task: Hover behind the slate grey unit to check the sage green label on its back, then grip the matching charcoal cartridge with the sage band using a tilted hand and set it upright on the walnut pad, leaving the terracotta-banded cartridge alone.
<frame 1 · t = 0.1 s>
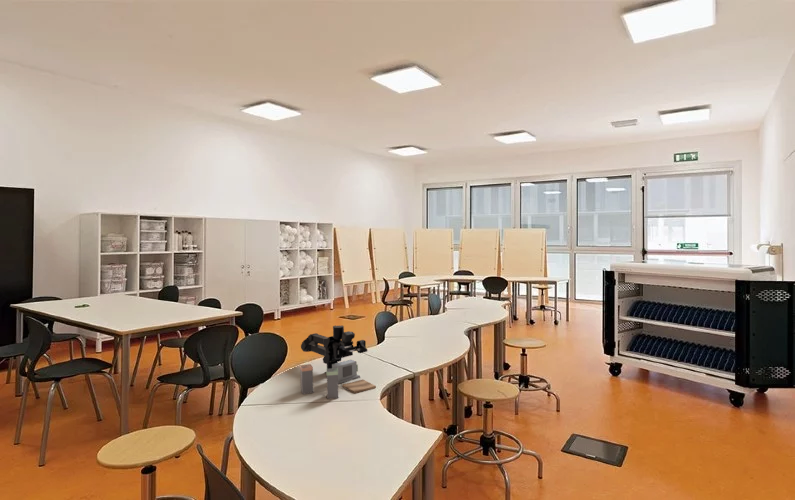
hand: (359, 352, 220), 16 cm above the table, tool horizontal, fingers open, 9 cm apart
walnut pad: (359, 387, 217), on the table
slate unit: (344, 378, 230), on the table
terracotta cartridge: (307, 391, 213), on the table
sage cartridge: (332, 396, 206), on the table
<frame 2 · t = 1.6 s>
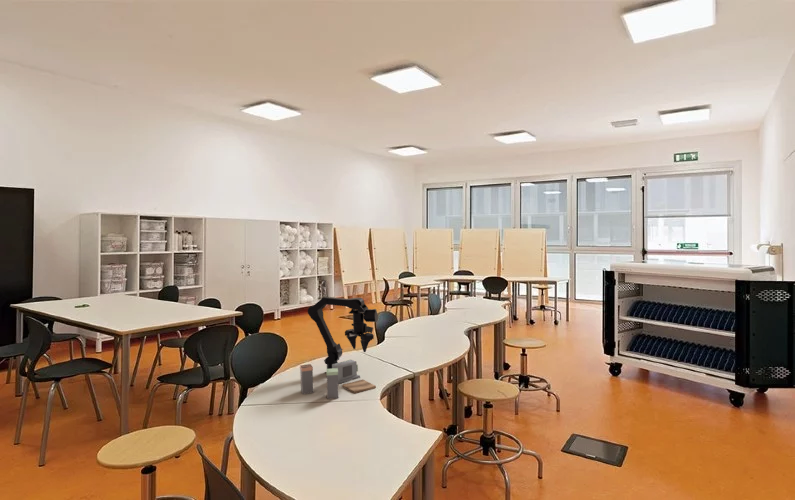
hand: (359, 350, 236), 13 cm above the table, tool pointing down, fingers open, 9 cm apart
nothing on the table moved.
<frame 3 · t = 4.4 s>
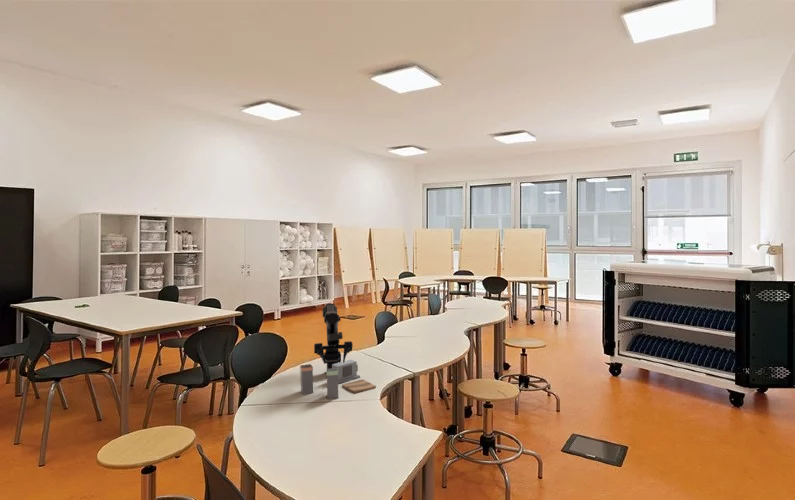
hand: (334, 363, 214), 13 cm above the table, tool tilted 45°, fingers open, 9 cm apart
nothing on the table moved.
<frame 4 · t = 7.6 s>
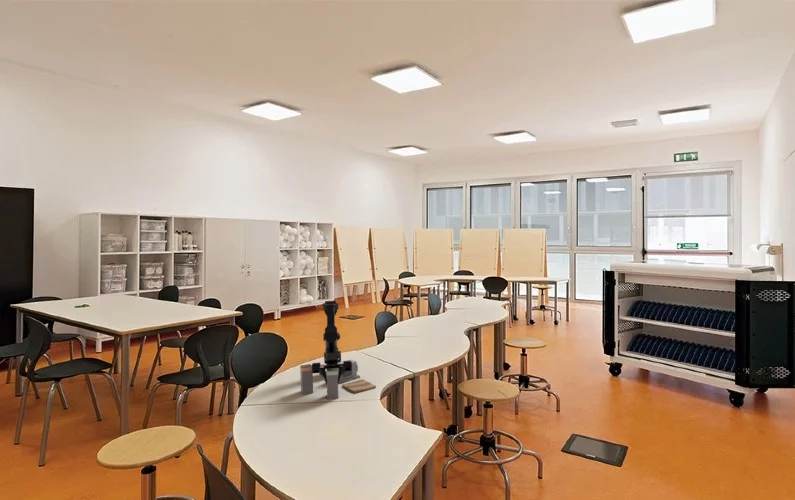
hand: (332, 383, 204), 7 cm above the table, tool tilted 45°, fingers closed on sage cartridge, 5 cm apart
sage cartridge: (332, 396, 206), on the table, touching gripper
everything else where it was.
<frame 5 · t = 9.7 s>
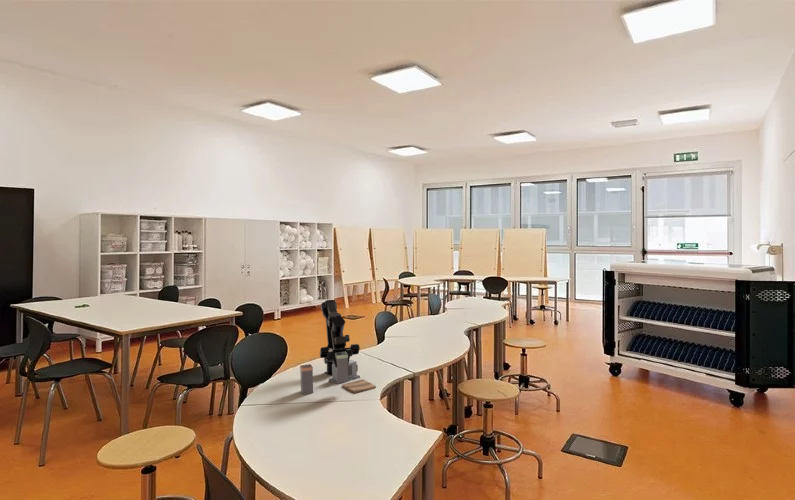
hand: (342, 366, 207), 13 cm above the table, tool tilted 45°, fingers closed on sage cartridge, 5 cm apart
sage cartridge: (341, 379, 209), point 7 cm above the table, touching gripper
everything else where it was.
when the fingers open (9 cm above the table, at t = 12.1 s): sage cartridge drops 1 cm, resting on walnut pad.
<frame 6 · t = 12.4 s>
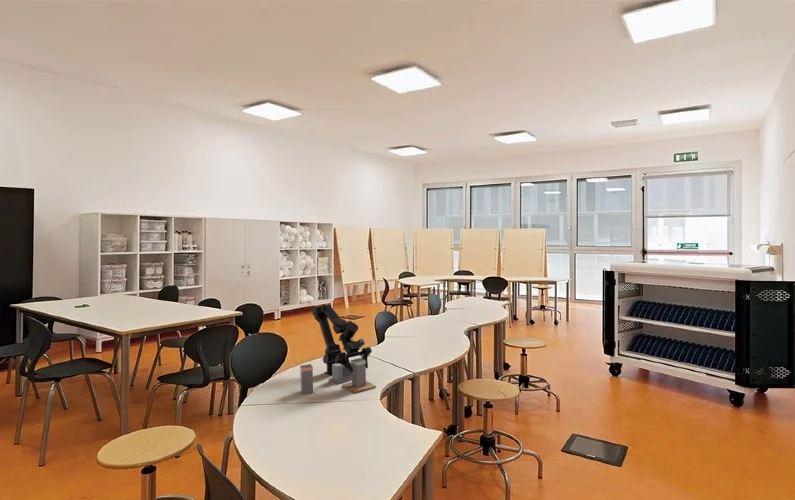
hand: (360, 369, 216), 9 cm above the table, tool tilted 45°, fingers open, 8 cm apart
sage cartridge: (358, 385, 217), point 1 cm above the table, touching walnut pad
everything else where it was.
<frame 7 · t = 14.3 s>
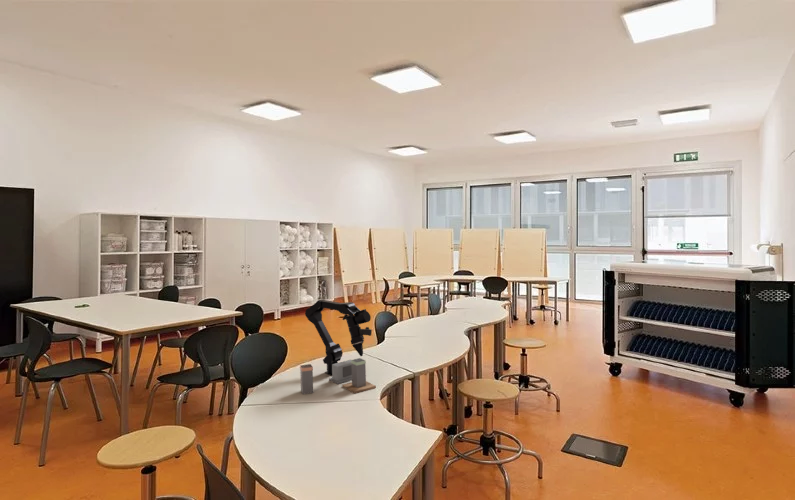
hand: (362, 355, 229), 12 cm above the table, tool tilted 20°, fingers open, 9 cm apart
nothing on the table moved.
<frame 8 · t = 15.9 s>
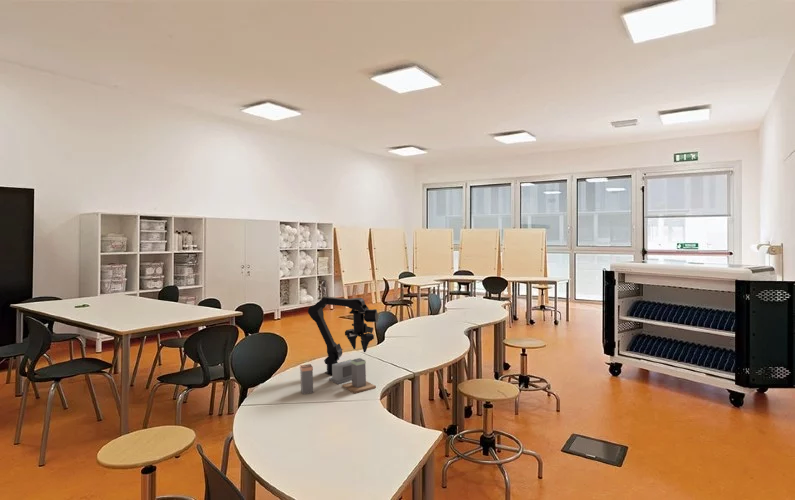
hand: (359, 350, 236), 13 cm above the table, tool pointing down, fingers open, 9 cm apart
nothing on the table moved.
at the end: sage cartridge inside the target area on the walnut pad (0.0 cm from its centre), point 1.0 cm above the walnut pad's base; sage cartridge tilted 0°; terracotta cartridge moved 0.0 cm from its start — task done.
